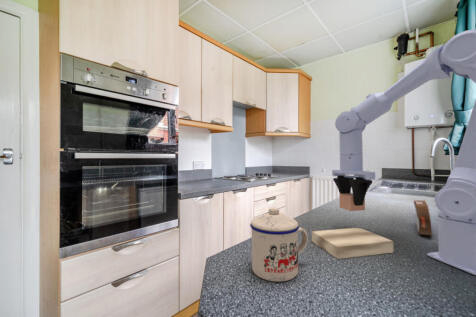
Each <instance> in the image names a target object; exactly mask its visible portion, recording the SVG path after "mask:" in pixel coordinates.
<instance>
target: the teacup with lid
mask: <svg viewBox="0 0 476 317" xmlns="http://www.w3.org/2000/svg"><path fill="white" fill-rule="evenodd" d="M249 227H250V228H251V269H252V272H253V273H254V274H255V275H256V276H257V277H259V278H261V279H264V280H265V281H269V282H287V281H290V280H292V279H294V278H295V277H297V275H298V273H299V254H301V253H302V252H303V251H304V250H305V249H306V247H307V245H308V240H309V235H308V233H307V232H308V231H306V230H305V229H304V228H302V227H300V226H299V223H298V221H296V220H295V218H292V217H289V216H287V215H285V214H284V213H281V212H280V209H279V208H278V207H269V209H268V212H265V213H263V214H262V215H259V216H257V217H254V218H253V219H252V220H251V222H250V225H249ZM299 232H301V235H302V237H301V238H302V239H301V242H300V244H299Z"/></svg>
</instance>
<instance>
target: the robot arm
mask: <svg viewBox="0 0 476 317" xmlns="http://www.w3.org/2000/svg"><path fill="white" fill-rule="evenodd" d="M451 73H453V74H454V75H457V76H458V77H462V78H464V79H469V80H471V81H472V82H474V84H476V29H469V30H464V31H461V32H459V33H457V34H456V35H454V36H452V37H450V38H449V39H448V40H447V42H445V44H442V45H439V46H438V47H436V48H434V50H432V52H431V53H429V55H428V56H427V57H426V58H425V59H424V60H423V61H421V62H420V63H419V64H418V65H417V66H415V67H414V68H412V69H411V70H410V71H409V72H407V73H406V74H405V75H404V76H402V77H401V78H400V79H399V80H397V81H396V82H395V83H394V84H392V85H391V86H390V87H389V88H387V89H386V90H384V92H374V93H373V94H372V93H369V94H368V95H366V97H365V98H366V99H364V100H363V101H362V102H360V103H359V104H358V105H357V106H355V107H354V106H353V107H351V109H350V110H348V111H347V110H346V111H342V112H340V114H339V115H338V116H337V117H336V119H335V122H334V125H335V128H336V130H337V131H338V133H339V135H338V136H339V169H332V170H331V171H332V172H331V175H332V178H333V179H332V181H333V182H334V183H335V186H336V187H337V189H338V192H339V194H345V193H353V200H354V205H356V206H360V205H363V202H364V198H365V199H366V195H367V192H368V190H369V188H370V187H371V185H372V184H373V180H376V171H369V170H368V171H365V170H364V166H363V165H364V159H363V157H364V156H363V155H364V154H363V132H364V130H365V129H366V126H367V125H369V124H371V123H372V122H374V121H375V120H377V119H378V118H380V117H381V116H383V115H385V114H386V113H388V112H390V111H391V108H392V106H393V103H394V102H396V101H398V100H400V99H401V98H403V97H404V96H406V95H409V93H411V92H413V91H415V90H416V89H418V88H420V87H421V86H423V85H424V84H425V83H428V82H429V81H433V80H434V81H435V80H444V79H451V78H452V77H451ZM458 151H459V152H458V155H457V158H456V159H455V160H456V161H455V163H454V164H455V165H454V167H453V169H452V171H451V173H450V174H449V176H448V178H447V180H446V183H445V185H444V186H443V187H442V188H441V189H440V190H438V191H437V193H436V194H435V196H434V202H435V206H436V207H437V209H438V211H437V236H438V237H437V239H438V240H437V242H438V243H437V244H438V245H437V246H438V251H435V252H434V251H433V252H427V253H426V255H427V257H430V258H432V259H434V260H437V261H439V262H442V263H444V264H447V265H449V266H452V267H454V268H457V269H459V270H462V271H464V272H466V273H469V274H472V275H474V276H476V99H475V100H474V104H473V107H472V110H471V113H470V117H469V120H468V123H467V126H466V129H465V132H464V135H463V139H462V142H461V145H460V148H459V150H458ZM351 190H352V192H351Z"/></svg>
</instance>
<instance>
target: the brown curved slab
mask: <svg viewBox="0 0 476 317" xmlns="http://www.w3.org/2000/svg"><path fill="white" fill-rule="evenodd" d="M413 205H414V208H415V209H414V210H415V224H416V230H417V232H418V234H419V235H421V236H428V237H432V236H433V235H432V234H433V233H432V222H431V215H430V210H429V209H430V208H429V205H428V204H427V202H426V200H425V199H424V200H419V199H417V200H414V201H413Z"/></svg>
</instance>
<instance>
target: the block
mask: <svg viewBox="0 0 476 317" xmlns="http://www.w3.org/2000/svg"><path fill="white" fill-rule="evenodd" d="M338 202H339V208H340V209H343V210H345V211H346V210H347V211H349V212H353V211H354V212H355V211H356V212H357V211H358V212H359V211H366V197H365V198H364V202H363V205H360V206H356V205H354V200H353V192H351V193H345V194H340V193H339V201H338Z"/></svg>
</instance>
